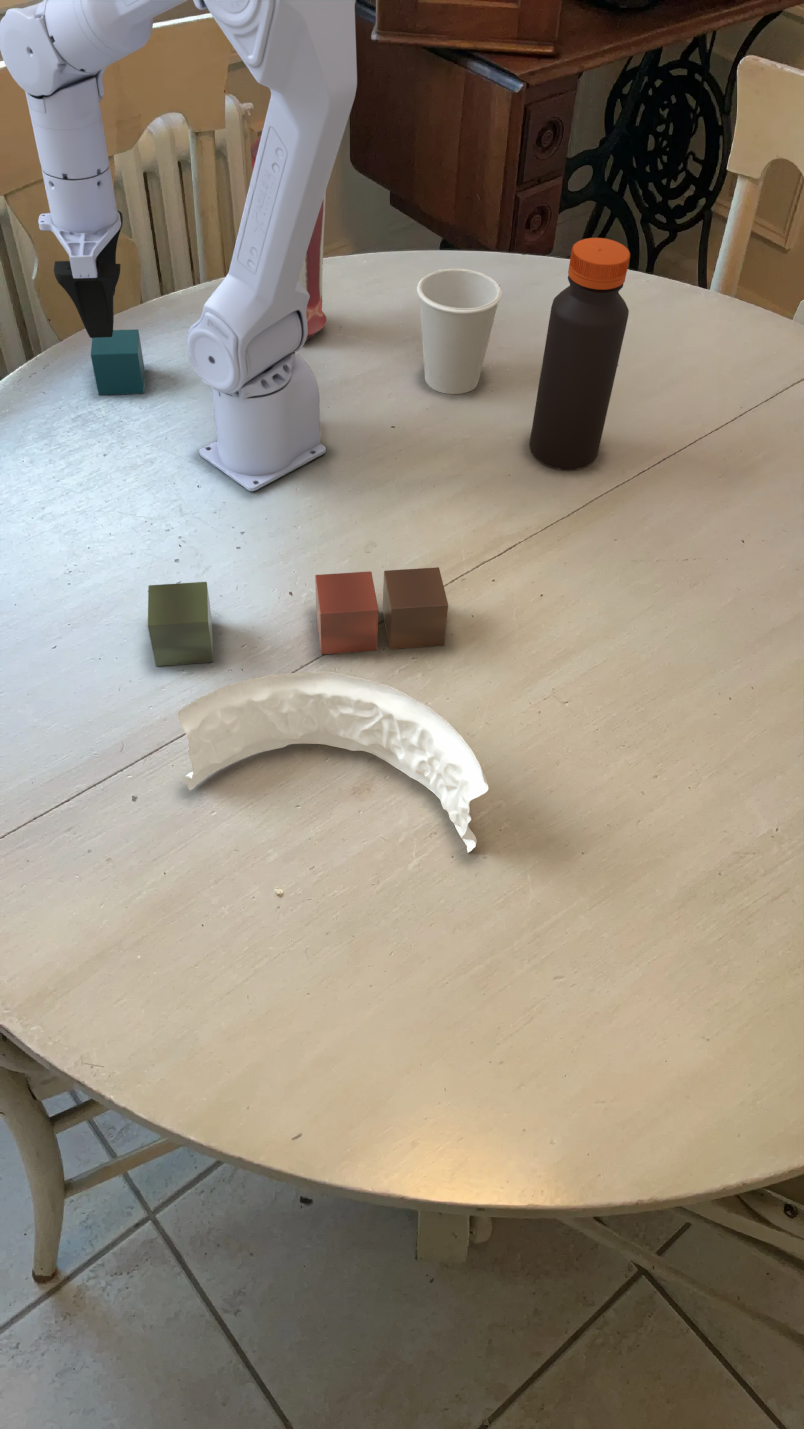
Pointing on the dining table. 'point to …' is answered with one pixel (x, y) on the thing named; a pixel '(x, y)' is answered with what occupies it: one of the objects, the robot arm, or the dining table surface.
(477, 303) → the dixie cup
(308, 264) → the liquor
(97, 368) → the teal block
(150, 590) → the block row
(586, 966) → the dining table surface
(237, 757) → the curved plaster moulding
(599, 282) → the bottle
